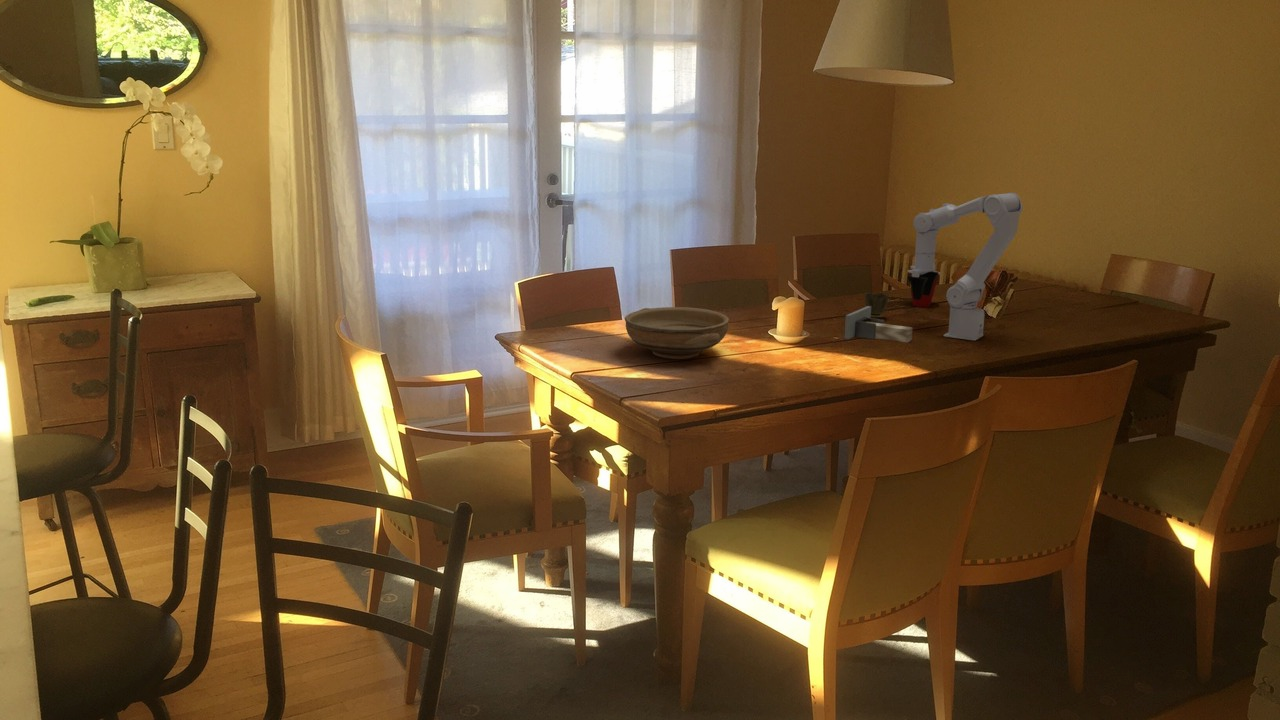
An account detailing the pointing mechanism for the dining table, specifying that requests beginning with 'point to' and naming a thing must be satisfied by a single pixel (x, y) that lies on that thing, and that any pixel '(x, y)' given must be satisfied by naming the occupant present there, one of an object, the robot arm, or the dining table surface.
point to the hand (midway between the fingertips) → (921, 297)
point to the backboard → (853, 318)
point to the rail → (893, 332)
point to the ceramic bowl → (676, 330)
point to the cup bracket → (866, 327)
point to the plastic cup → (925, 299)
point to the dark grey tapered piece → (876, 303)
